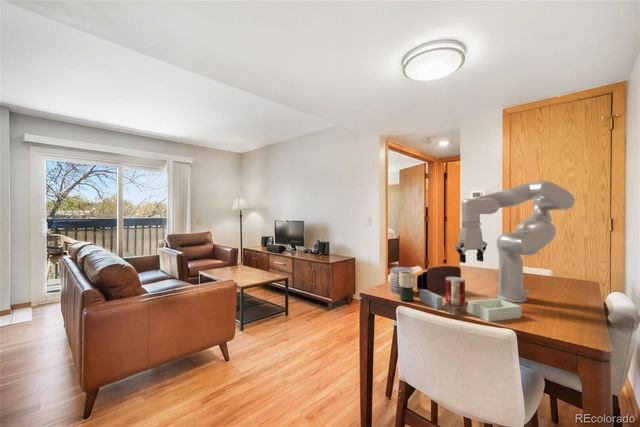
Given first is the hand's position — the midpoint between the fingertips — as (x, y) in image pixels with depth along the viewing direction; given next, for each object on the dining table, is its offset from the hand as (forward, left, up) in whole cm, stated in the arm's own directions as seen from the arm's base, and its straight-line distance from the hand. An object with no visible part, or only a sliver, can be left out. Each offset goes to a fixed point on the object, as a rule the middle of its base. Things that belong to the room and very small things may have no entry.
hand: (471, 261), depth 128 cm
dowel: (+18, +10, -18) cm, 28 cm away
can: (+24, -21, -19) cm, 37 cm away
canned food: (+9, 0, -19) cm, 21 cm away
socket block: (+18, +10, -18) cm, 28 cm away
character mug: (+29, -8, -19) cm, 35 cm away
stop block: (+22, 0, -18) cm, 29 cm away
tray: (+5, +17, -18) cm, 25 cm away
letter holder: (+4, -18, -19) cm, 26 cm away
